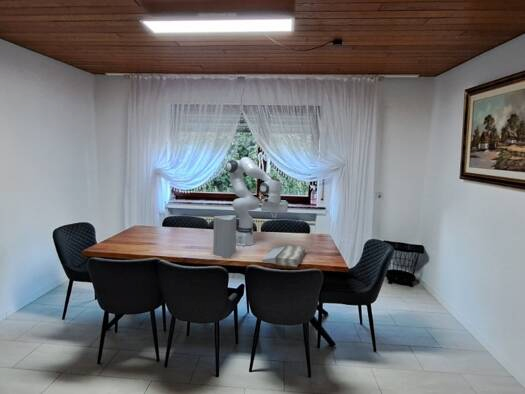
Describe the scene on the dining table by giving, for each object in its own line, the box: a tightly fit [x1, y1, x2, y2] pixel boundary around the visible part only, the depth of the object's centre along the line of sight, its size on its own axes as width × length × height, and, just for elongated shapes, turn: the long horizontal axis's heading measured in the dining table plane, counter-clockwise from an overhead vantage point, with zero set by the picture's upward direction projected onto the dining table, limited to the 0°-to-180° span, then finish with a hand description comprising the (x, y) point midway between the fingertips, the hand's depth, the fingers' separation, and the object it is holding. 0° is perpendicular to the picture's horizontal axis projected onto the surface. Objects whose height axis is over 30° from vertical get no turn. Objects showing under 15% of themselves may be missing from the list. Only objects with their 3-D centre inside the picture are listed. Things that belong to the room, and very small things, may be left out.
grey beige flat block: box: [276, 244, 306, 268], centre depth 266 cm, size 14×36×5 cm, turn 165°
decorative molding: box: [261, 245, 287, 265], centre depth 271 cm, size 34×5×10 cm
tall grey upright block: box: [212, 214, 237, 259], centre depth 272 cm, size 19×15×28 cm
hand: (274, 217), depth 279 cm, fingers closed
